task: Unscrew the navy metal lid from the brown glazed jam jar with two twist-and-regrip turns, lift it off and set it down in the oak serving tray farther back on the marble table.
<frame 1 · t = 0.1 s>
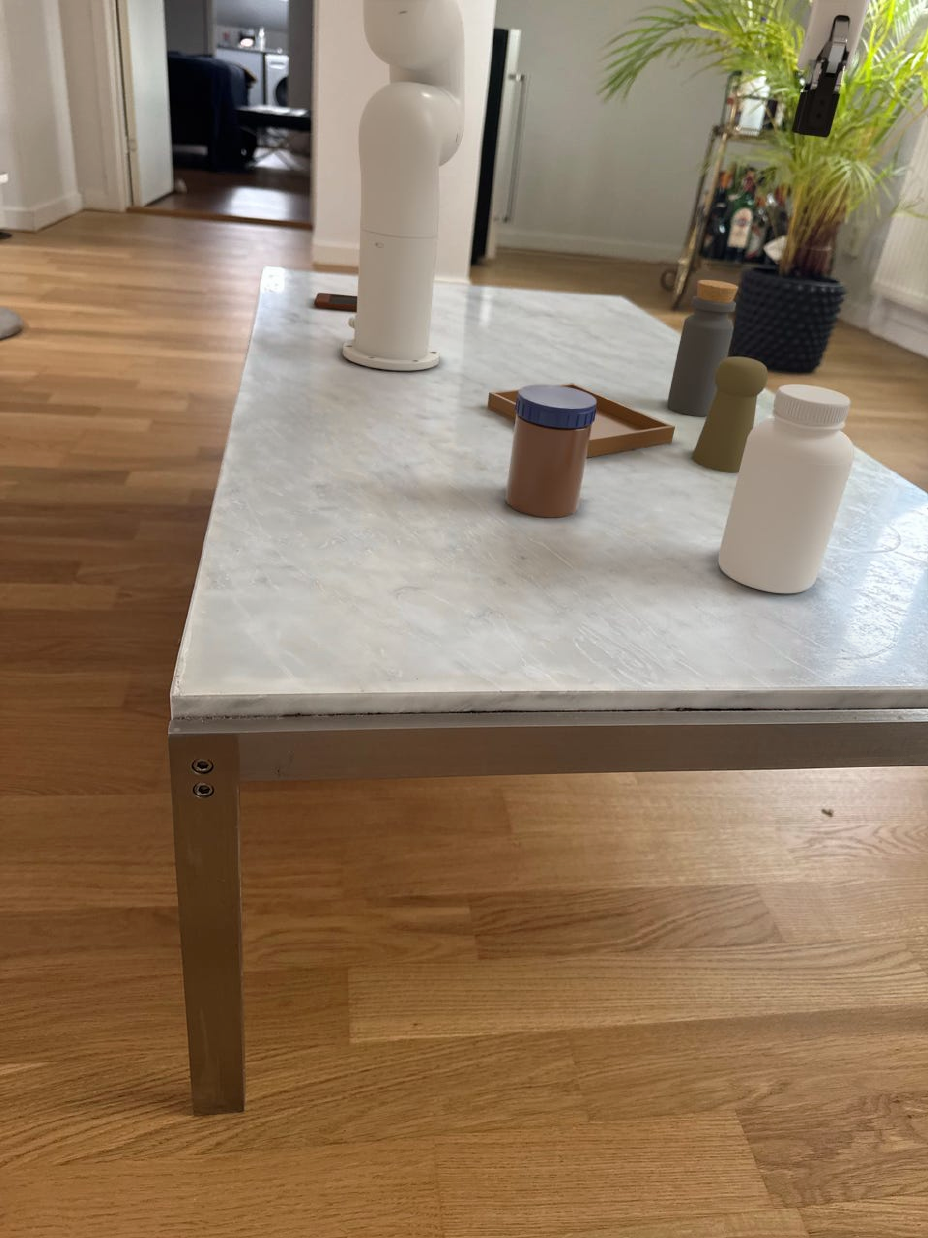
hand: (809, 134, 101), 31 cm above the table, tool pointing down, fingers open, 9 cm apart
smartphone: (363, 308, 149), on the table
jar: (541, 502, 86), on the table
olive pepper mill: (719, 463, 101), on the table
lid: (556, 400, 81), point 9 cm above the table, screwed on, not yet turned
bottle: (689, 410, 118), on the table
tray: (577, 425, 107), on the table
pill bottle: (763, 575, 77), on the table
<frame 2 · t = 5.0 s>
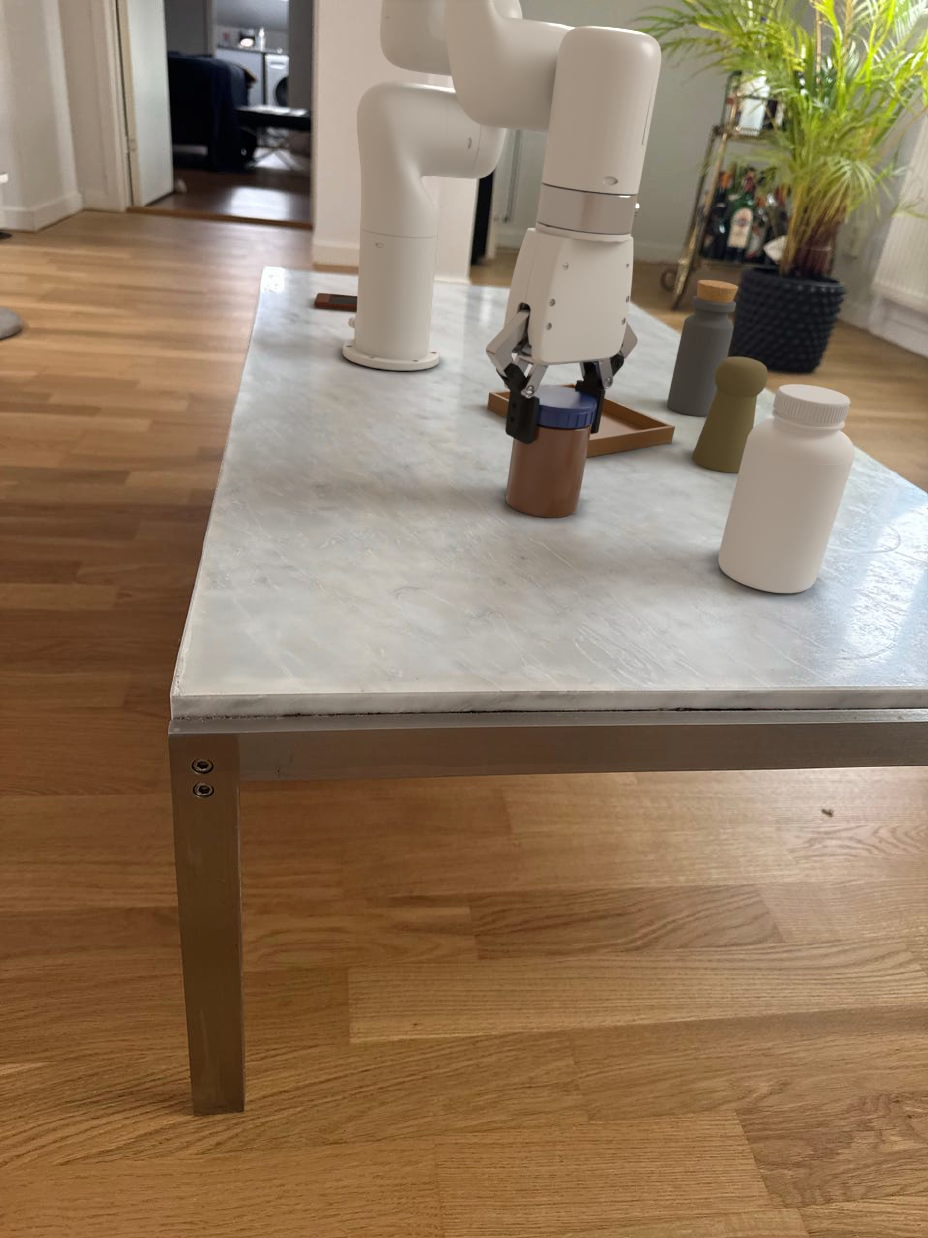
hand: (552, 432, 82), 7 cm above the table, tool pointing down, fingers closed on lid, 6 cm apart
lid: (557, 400, 81), point 9 cm above the table, screwed on, not yet turned, touching gripper
everything else where it was.
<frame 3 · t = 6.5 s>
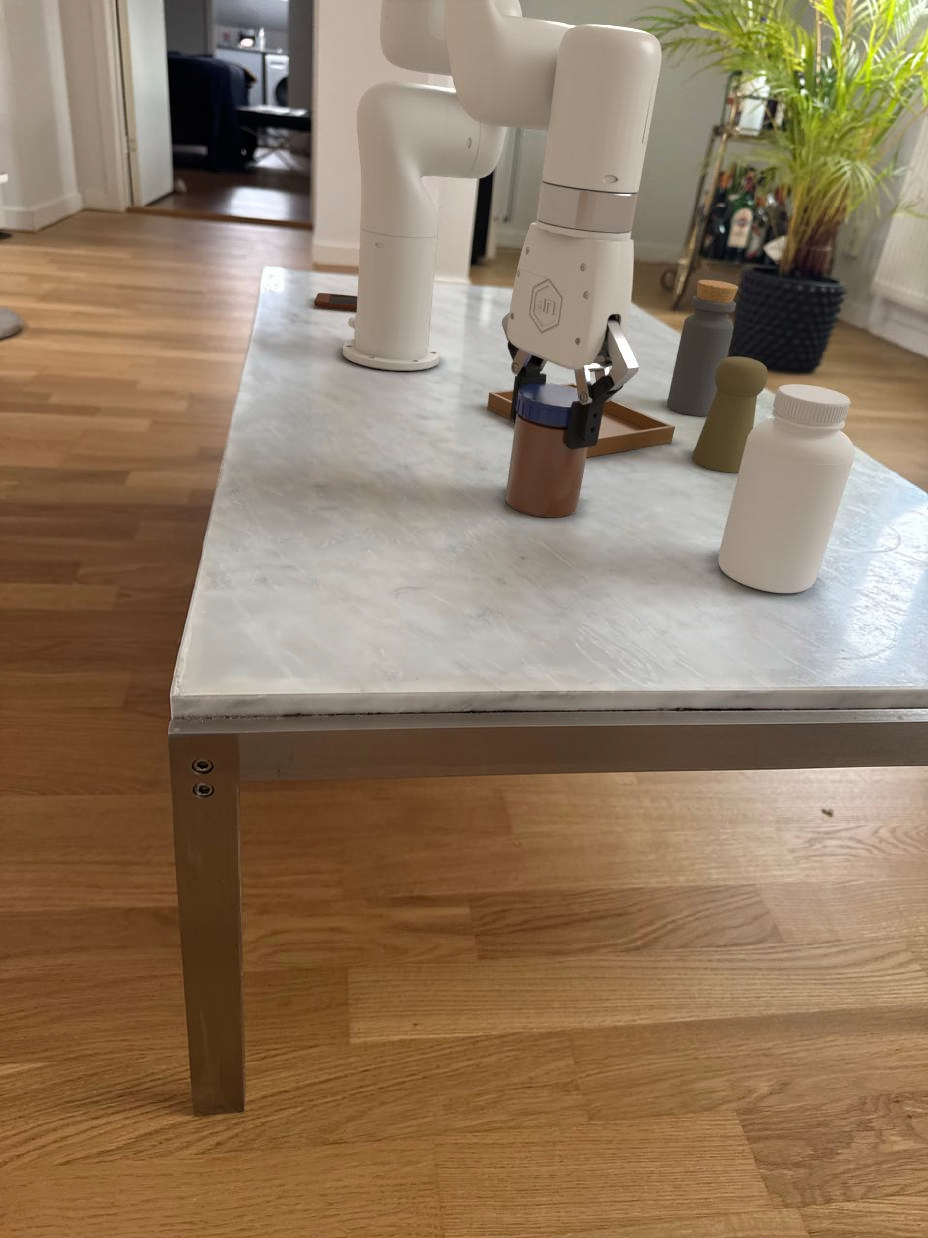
hand: (552, 430, 82), 7 cm above the table, tool pointing down, fingers closed on lid, 6 cm apart
lid: (557, 399, 81), point 10 cm above the table, turned 90° so far, risen 0.1 cm, still on its thread, touching gripper
everything else where it was.
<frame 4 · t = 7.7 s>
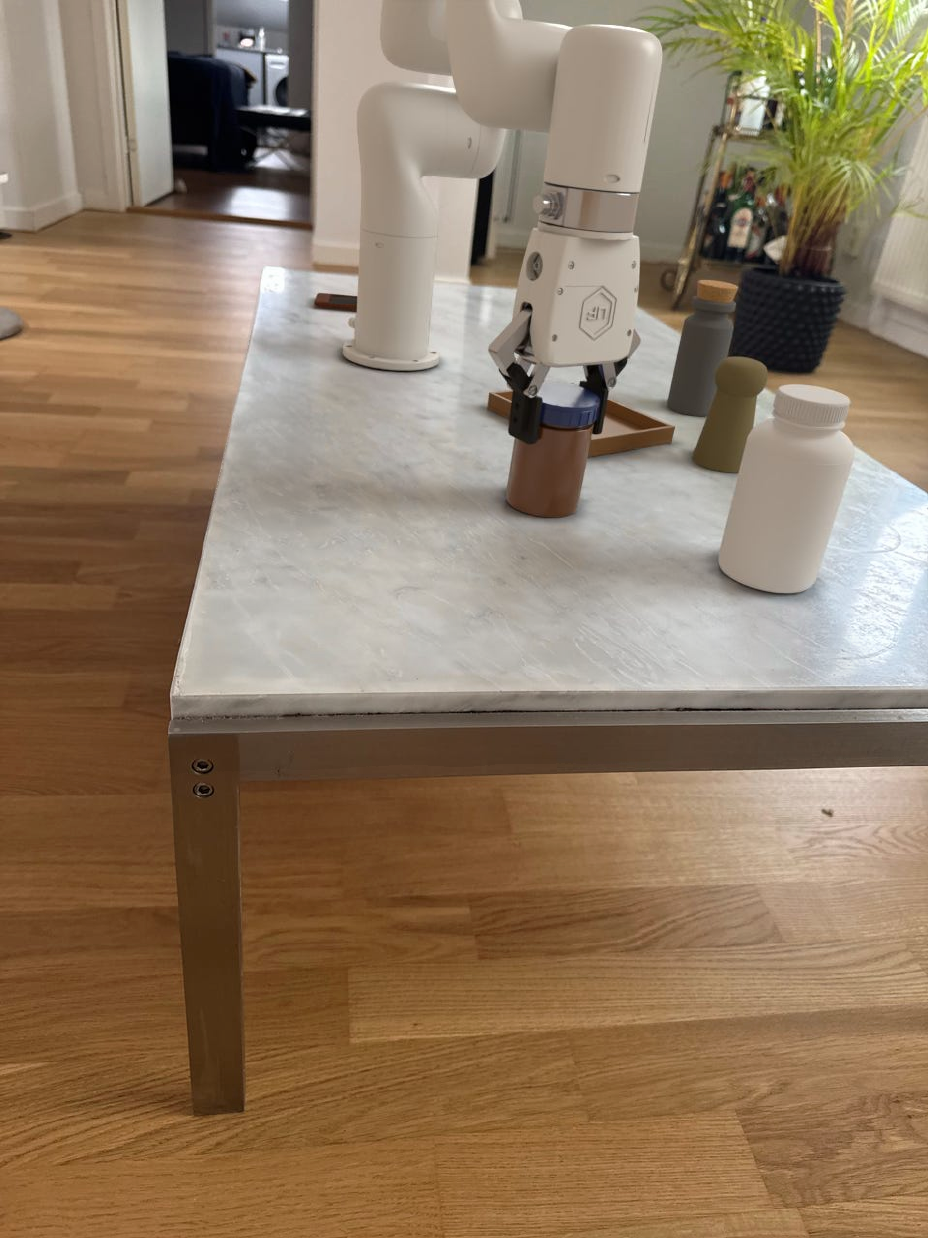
hand: (555, 432, 82), 7 cm above the table, tool pointing down, fingers closed on lid, 6 cm apart
jar: (541, 501, 86), on the table, touching gripper
lid: (559, 397, 81), point 10 cm above the table, turned 180° so far, risen 0.2 cm, still on its thread, touching gripper
everything else where it was.
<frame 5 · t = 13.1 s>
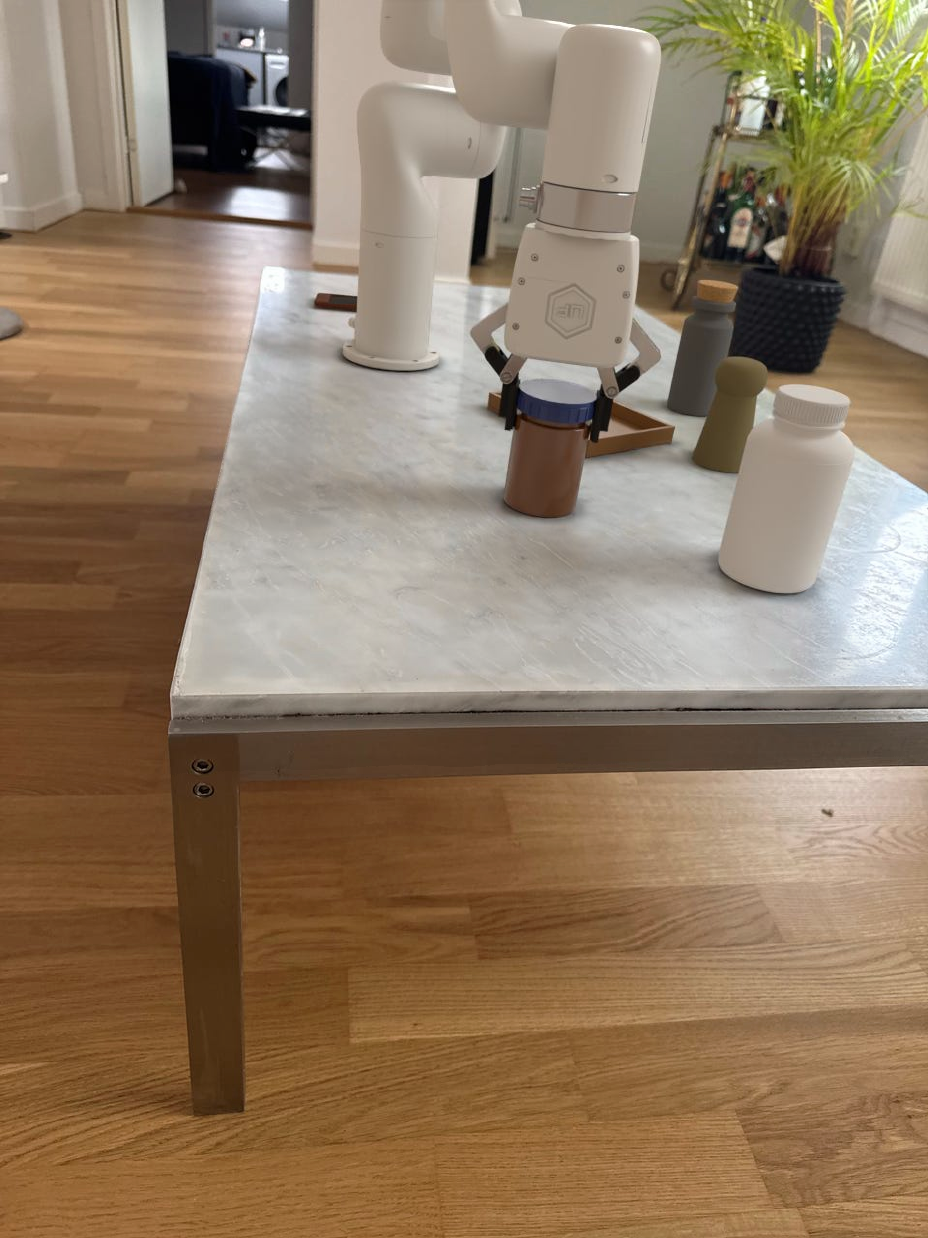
hand: (551, 430, 82), 7 cm above the table, tool pointing down, fingers closed on lid, 6 cm apart
lid: (557, 395, 81), point 10 cm above the table, turned 313° so far, risen 0.4 cm, still on its thread, touching gripper
everything else where it was.
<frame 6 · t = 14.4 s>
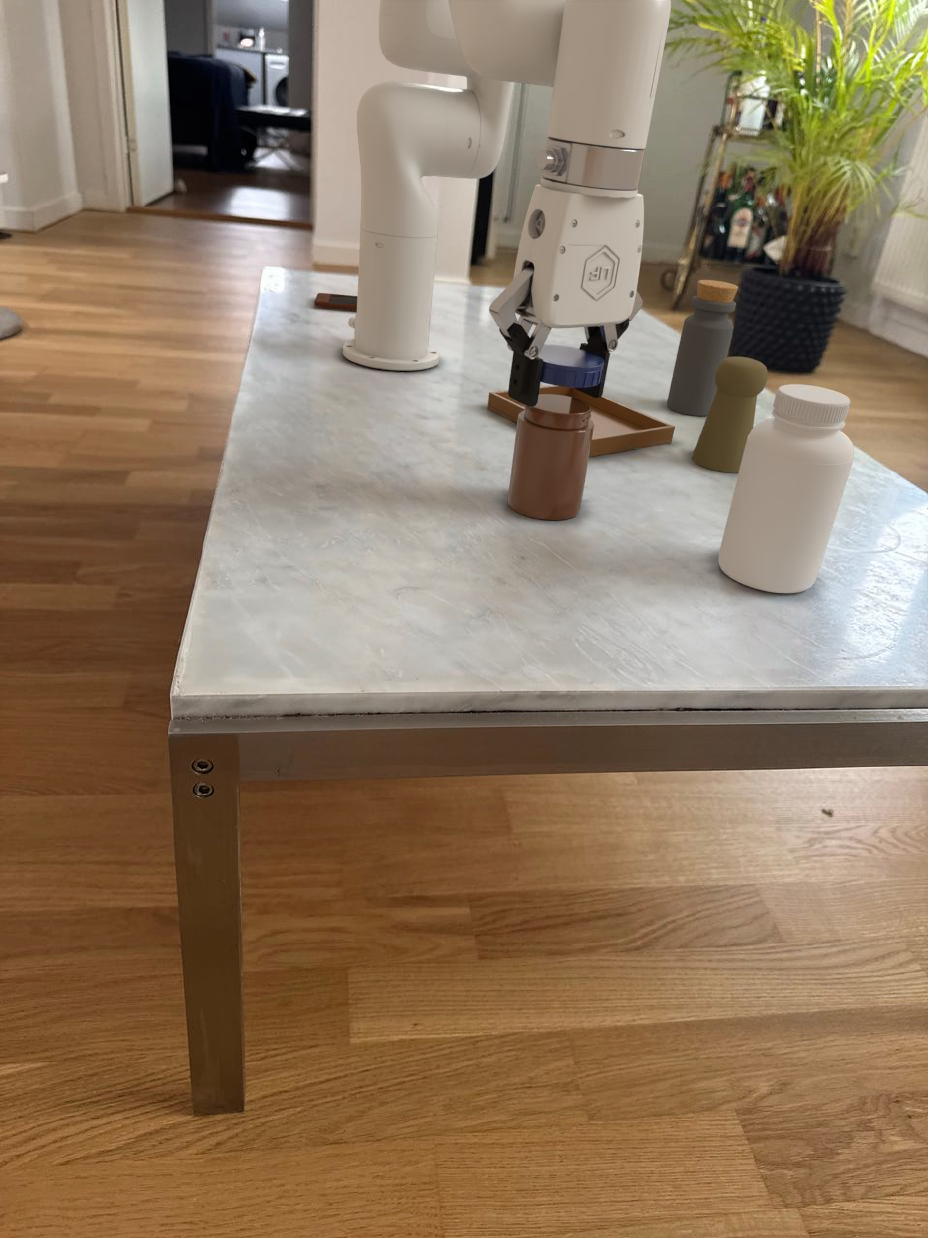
hand: (555, 395, 81), 10 cm above the table, tool pointing down, fingers closed on lid, 6 cm apart
jar: (543, 505, 85), on the table
lid: (563, 360, 79), point 13 cm above the table, off its thread, touching gripper
everything else where it was.
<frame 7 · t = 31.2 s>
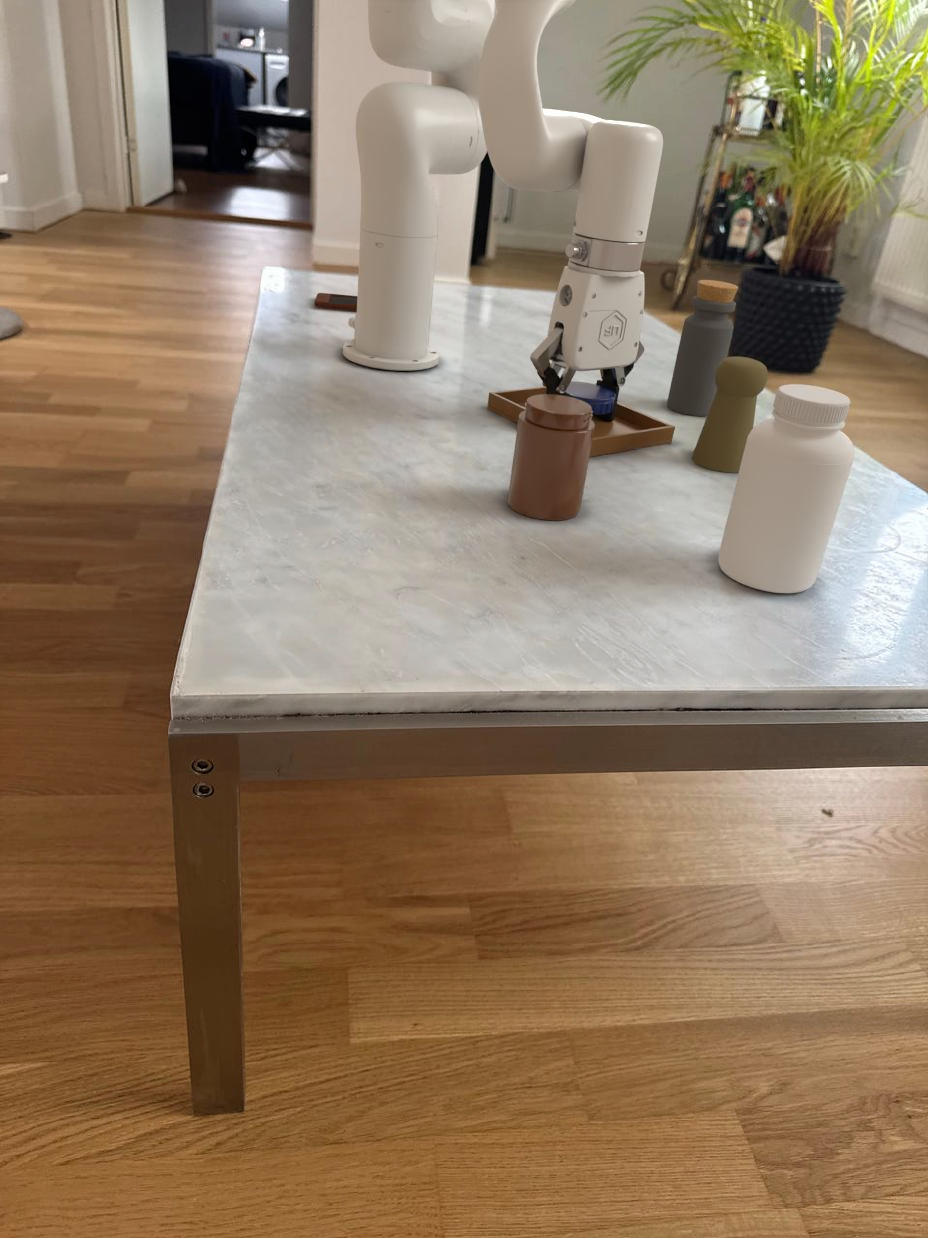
hand: (578, 420, 107), 1 cm above the table, tool pointing down, fingers closed on lid, 6 cm apart
lid: (584, 393, 105), point 4 cm above the table, off its thread, touching gripper
everything else where it was.
when the fingers open (2 cm above the table, at t = 31.6 s): lid drops 3 cm, resting on tray.
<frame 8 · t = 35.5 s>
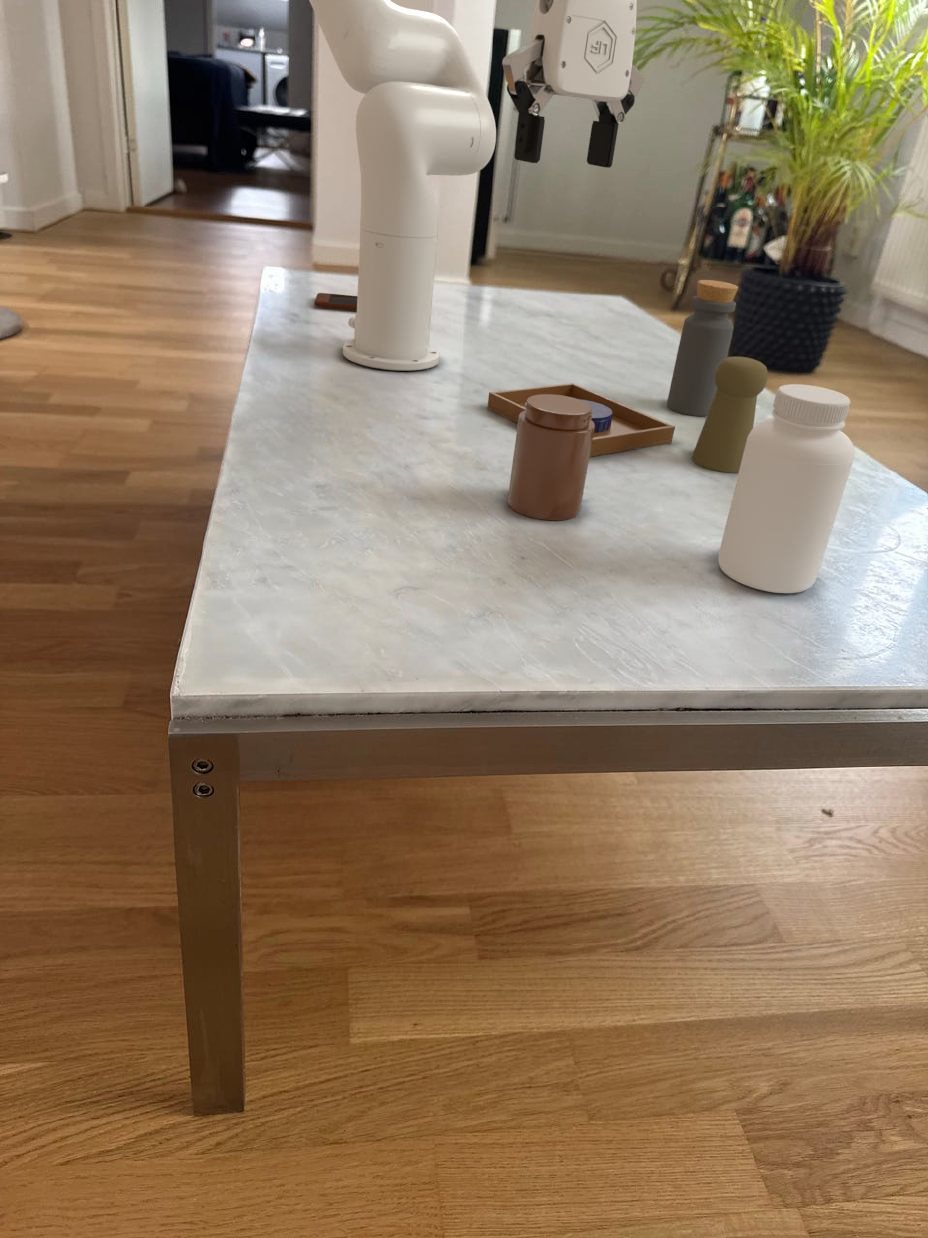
hand: (563, 163, 95), 26 cm above the table, tool pointing down, fingers open, 9 cm apart
lid: (581, 411, 106), point 2 cm above the table, off its thread, touching tray
everything else where it was.
at the end: the gripper is holding nothing; lid point 1.7 cm above the table; lid inside the target area in the tray (0.3 cm from its centre), point 1.7 cm above the tray's base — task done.
